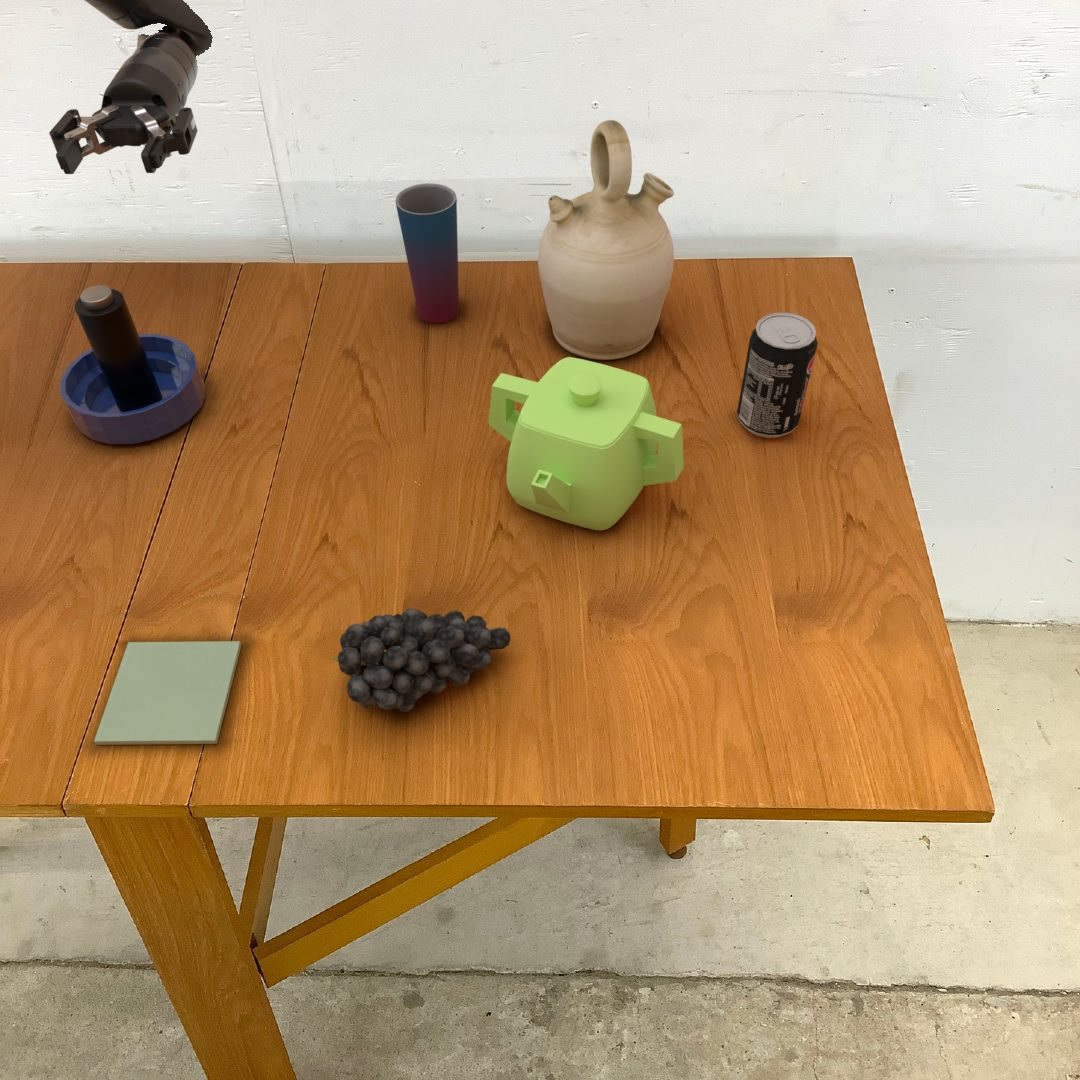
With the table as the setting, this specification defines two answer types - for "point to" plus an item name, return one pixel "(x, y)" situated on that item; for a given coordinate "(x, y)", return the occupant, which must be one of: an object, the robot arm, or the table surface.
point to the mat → (170, 693)
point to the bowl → (110, 425)
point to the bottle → (117, 347)
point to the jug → (607, 256)
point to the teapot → (583, 441)
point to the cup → (431, 248)
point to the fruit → (414, 655)
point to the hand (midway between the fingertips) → (106, 165)
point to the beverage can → (776, 374)
